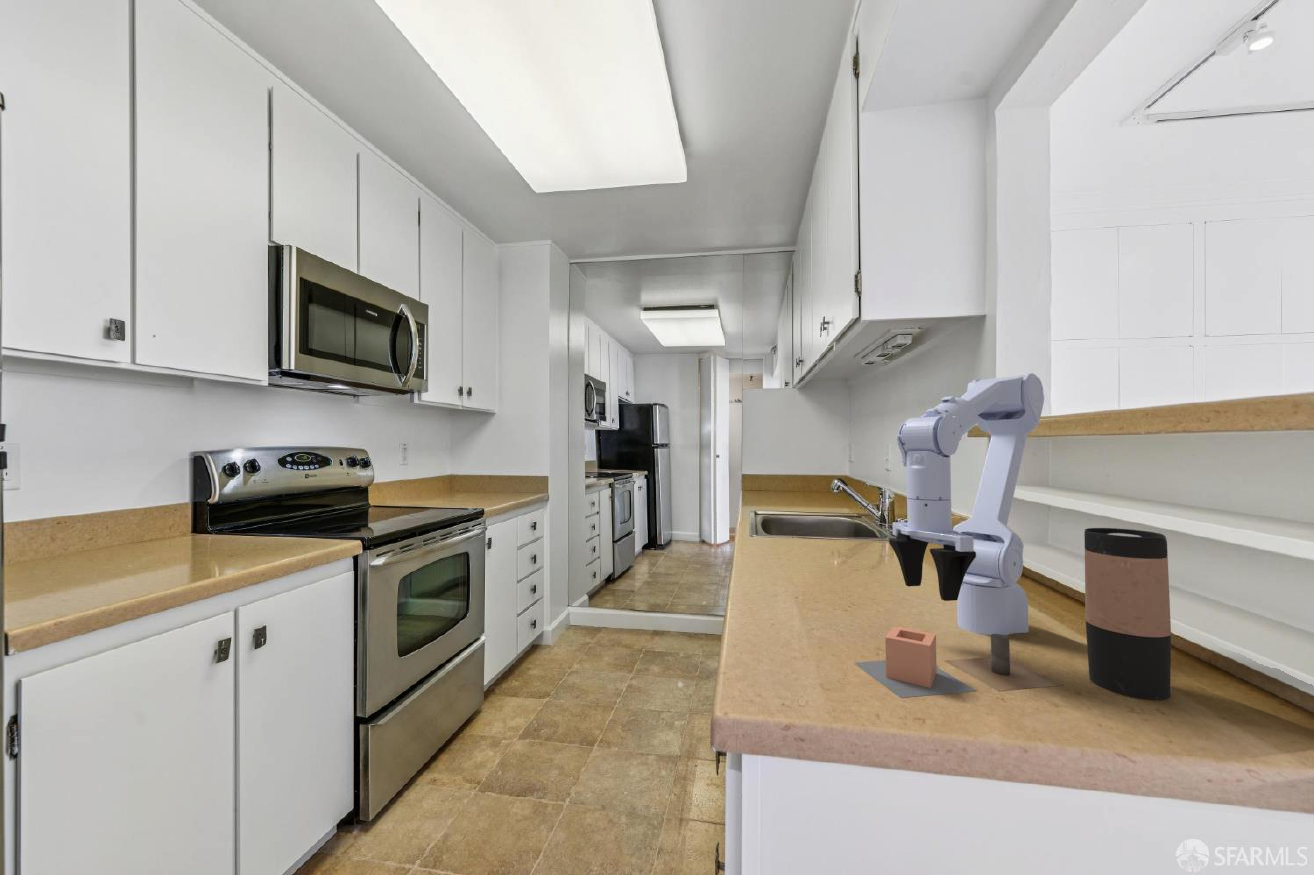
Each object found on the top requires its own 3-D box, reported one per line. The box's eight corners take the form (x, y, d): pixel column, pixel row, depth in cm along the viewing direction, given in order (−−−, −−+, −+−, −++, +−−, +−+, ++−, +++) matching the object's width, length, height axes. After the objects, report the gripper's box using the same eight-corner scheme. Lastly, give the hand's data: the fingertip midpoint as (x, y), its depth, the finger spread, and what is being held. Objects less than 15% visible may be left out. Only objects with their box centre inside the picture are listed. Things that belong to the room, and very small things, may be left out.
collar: (894, 663, 69) (893, 626, 69) (936, 673, 66) (935, 633, 66) (886, 677, 65) (885, 637, 65) (930, 687, 62) (929, 645, 62)
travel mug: (1071, 683, 66) (1067, 527, 67) (1132, 684, 66) (1128, 527, 66) (1123, 713, 58) (1118, 537, 59) (1193, 714, 58) (1187, 537, 59)
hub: (920, 668, 71) (919, 624, 71) (977, 703, 61) (976, 652, 61) (853, 673, 69) (853, 628, 69) (901, 710, 59) (900, 658, 59)
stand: (1002, 666, 71) (1001, 623, 71) (1063, 697, 62) (1062, 647, 63) (944, 671, 70) (943, 627, 70) (999, 703, 61) (998, 652, 61)
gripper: (874, 495, 82) (875, 581, 81) (939, 504, 67) (941, 608, 67) (914, 494, 83) (916, 579, 82) (986, 503, 68) (988, 605, 68)
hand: (930, 592), depth 75 cm, fingers open, 7 cm apart
